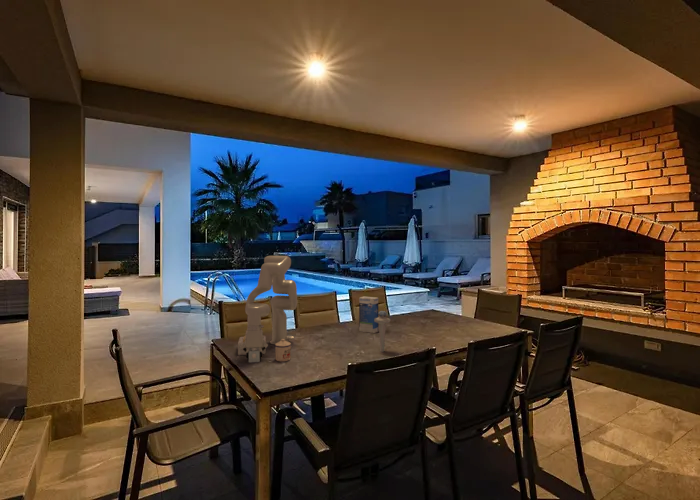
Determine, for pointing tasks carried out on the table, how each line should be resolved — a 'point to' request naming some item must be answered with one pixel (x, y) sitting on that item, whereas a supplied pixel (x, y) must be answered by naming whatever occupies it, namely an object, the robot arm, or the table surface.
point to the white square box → (241, 351)
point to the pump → (254, 355)
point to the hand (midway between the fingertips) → (254, 358)
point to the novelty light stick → (382, 328)
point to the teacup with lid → (283, 350)
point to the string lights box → (368, 314)
